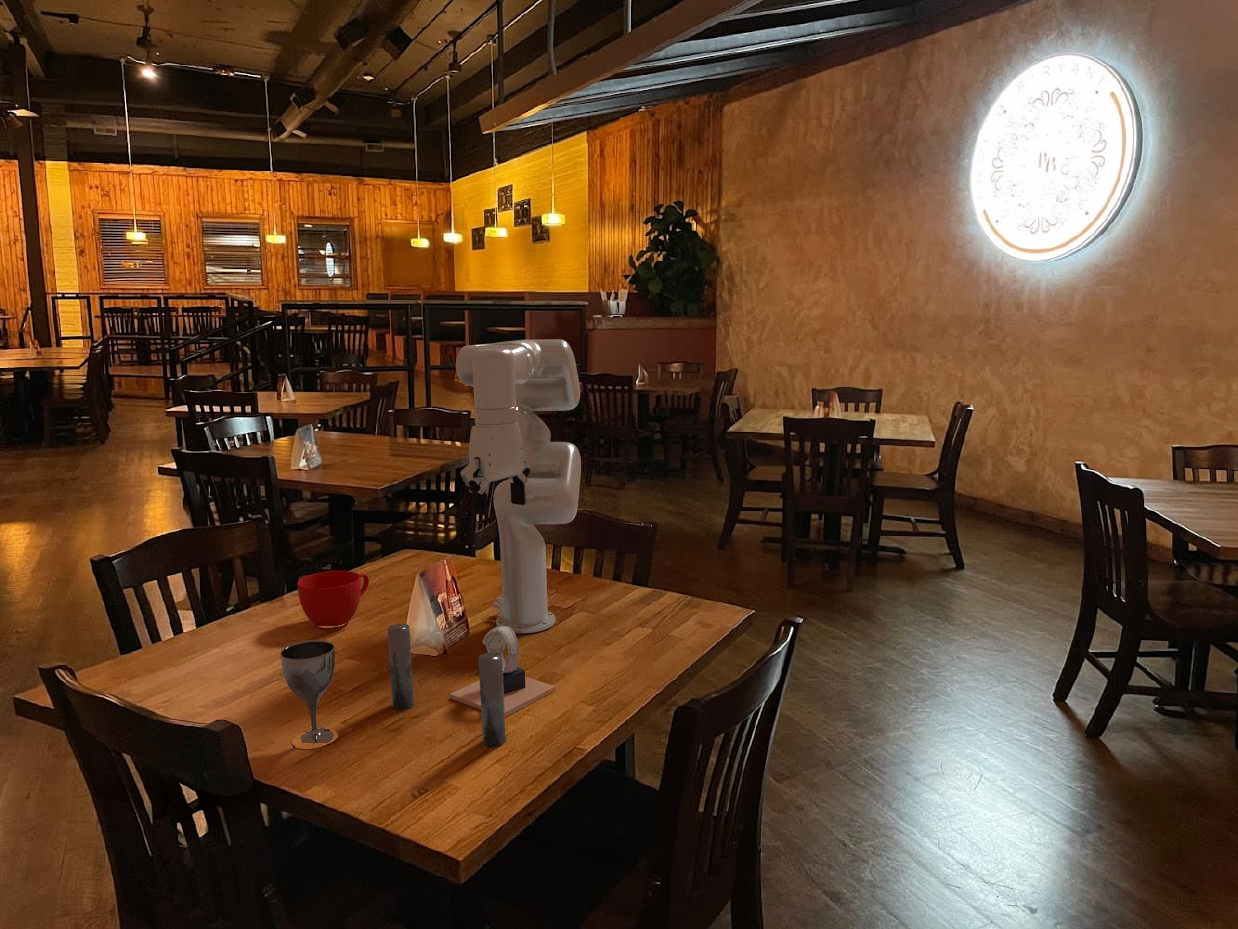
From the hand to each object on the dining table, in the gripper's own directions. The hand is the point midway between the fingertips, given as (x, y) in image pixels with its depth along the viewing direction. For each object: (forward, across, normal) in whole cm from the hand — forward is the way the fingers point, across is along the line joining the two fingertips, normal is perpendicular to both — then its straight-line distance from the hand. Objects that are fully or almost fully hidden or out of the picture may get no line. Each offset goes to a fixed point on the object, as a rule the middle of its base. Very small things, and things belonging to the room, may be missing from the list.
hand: (499, 509), depth 164 cm
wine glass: (+31, +39, -4) cm, 50 cm away
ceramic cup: (+31, +4, -47) cm, 56 cm away
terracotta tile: (+30, +10, +9) cm, 33 cm away
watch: (+30, +9, +8) cm, 32 cm away
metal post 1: (+30, +23, -2) cm, 38 cm away
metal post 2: (+30, +23, +20) cm, 43 cm away
